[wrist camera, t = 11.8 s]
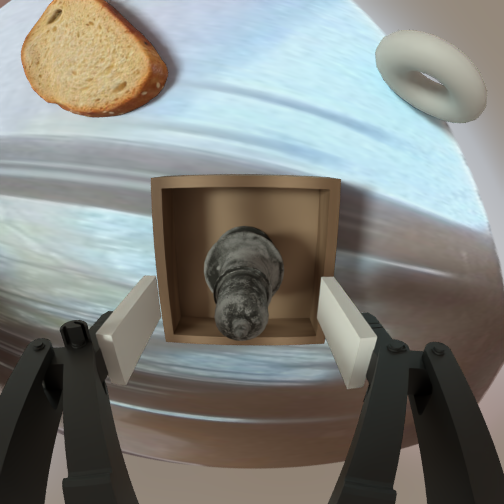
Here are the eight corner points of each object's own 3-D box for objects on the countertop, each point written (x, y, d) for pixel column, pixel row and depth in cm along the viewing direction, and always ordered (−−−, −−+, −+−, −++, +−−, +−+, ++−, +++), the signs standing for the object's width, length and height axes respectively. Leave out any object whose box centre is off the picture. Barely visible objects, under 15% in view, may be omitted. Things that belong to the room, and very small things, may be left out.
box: (176, 319, 27) (165, 341, 23) (166, 176, 23) (150, 178, 19) (315, 320, 27) (324, 343, 23) (326, 177, 23) (340, 179, 19)
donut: (352, 72, 20) (404, 30, 11) (366, 47, 20) (417, 1, 10) (434, 134, 22) (506, 129, 12) (444, 108, 21) (513, 96, 11)
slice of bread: (169, 106, 22) (156, 97, 18) (23, 144, 22) (1, 145, 18) (175, -35, 17) (167, -54, 13) (39, 14, 17) (23, 5, 13)
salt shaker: (293, 255, 24) (328, 332, 13) (245, 300, 26) (243, 397, 14) (243, 207, 23) (236, 249, 12) (196, 257, 24) (154, 334, 13)
